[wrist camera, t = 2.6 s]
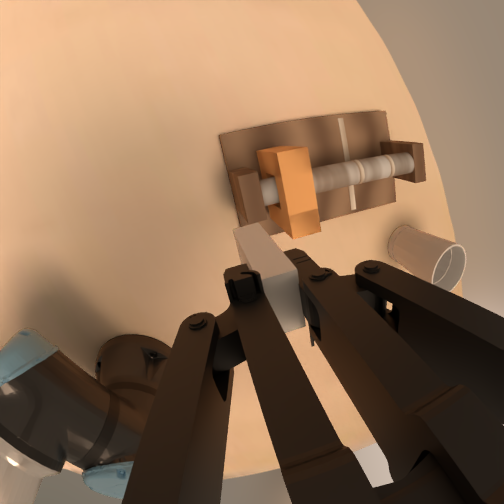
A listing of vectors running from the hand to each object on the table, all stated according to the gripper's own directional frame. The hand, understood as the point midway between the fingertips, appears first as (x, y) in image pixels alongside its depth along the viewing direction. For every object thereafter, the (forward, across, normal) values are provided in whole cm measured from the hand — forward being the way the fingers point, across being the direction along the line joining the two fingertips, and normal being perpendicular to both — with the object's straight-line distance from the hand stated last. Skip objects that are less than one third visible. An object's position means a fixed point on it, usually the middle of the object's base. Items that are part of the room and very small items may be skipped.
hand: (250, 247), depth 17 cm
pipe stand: (+21, +14, 0) cm, 25 cm away
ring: (+18, +7, 0) cm, 19 cm away
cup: (+21, +28, -15) cm, 38 cm away
